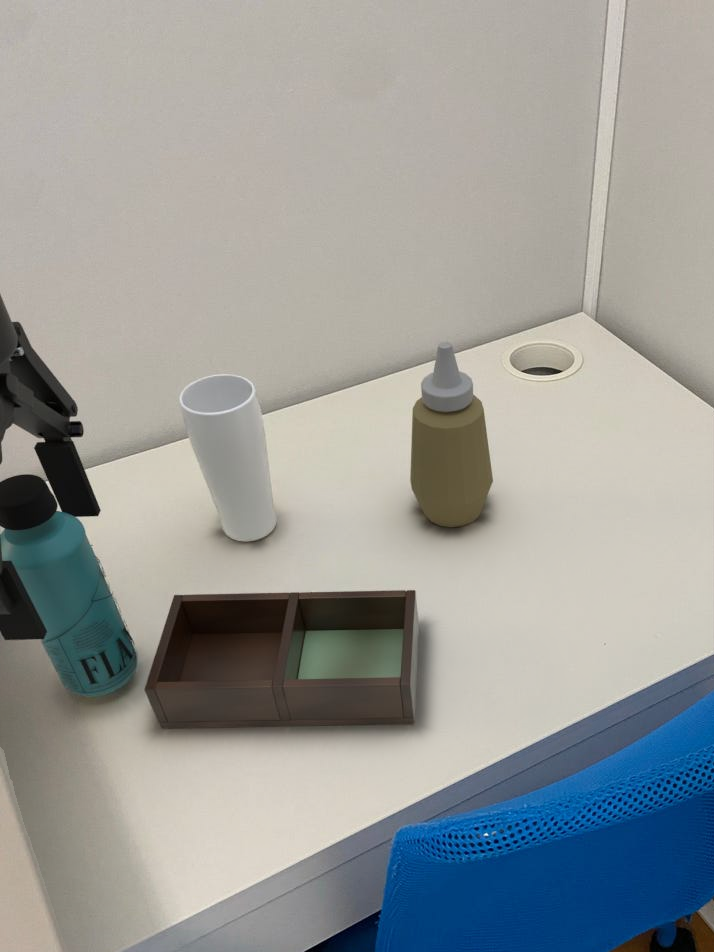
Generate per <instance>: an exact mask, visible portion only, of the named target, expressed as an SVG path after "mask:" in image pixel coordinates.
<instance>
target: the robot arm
mask: <svg viewBox="0 0 714 952" xmlns="http://www.w3.org/2000/svg"><path fill="white" fill-rule="evenodd" d="M78 411H79V408H78V405H77V402H76V400H75V399H74V398H73V397H72V396H71V394H70V393H69V392H68V391H67V389H66V388H65V387H64V386H63V385H62V384H61V382H60V380H59V379H58V378H57V377H56V375H54V373H53V372H52V371H51V369H50V368H49V367H48V365H47V364H46V362H45V361H44V360H43V359H42V358H41V356H39V355H38V353H37V352H36V350H35V349H34V348H33V346H32V344H31V343H30V340H29V338H28V335H27V334H26V331H25V329H24V327H23V325H22V323H21V322H20V321H12V318H11V316H10V314H9V312H8V308H7V307H6V304H5V302H4V299H3V296H2V294H1V293H0V465H2V463H3V448H2V442H3V440H4V437H5V434H6V431H7V430H8V429H9V428H10V427H12V426H13V424H14V425H15V426H17V427H18V428H20V429H21V430H24V431H25V432H27V433H29V434H30V435H32V436H33V437H35V438H37V439H43V440H44V441H37V442H36V444H35V445H34V447H33V449H34V451H35V453H36V456H37V458H38V460H39V463H40V465H41V467H42V469H43V472H44V475H45V477H46V478H47V481H48V484H49V485H50V488H51V490H52V494H53V495H54V497H55V499H56V501H57V505H58V507H59V508H60V512H64V513H68V514H70V515H73V516H74V517H76V518H83V517H84V518H85V517H87V518H89V517H99V515H100V514H101V512H102V511H101V507H100V505H99V502H98V499H97V497H96V495H95V492H94V490H93V487H92V484H91V482H90V480H89V476H88V475H87V473H86V470H85V467H84V465H83V462H82V461H81V457H80V455H79V452H78V449H77V447H76V445H75V442H74V440H73V439H72V438H83V436H84V432H85V430H84V425H83V423H82V422H81V420H74V421H73V420H72V421H71V420H70V419H71V418H75V417H77V416H78ZM46 633H47V630H46V628H45V626H44V624H43V622H42V620H41V618H40V616H39V614H38V612H37V610H36V608H35V606H34V604H33V602H32V600H31V598H30V597H29V595H28V593H27V591H26V589H25V587H24V585H23V583H22V581H21V579H20V577H19V575H18V573H17V571H16V569H15V567H14V565H13V563H12V561H2V551H1V537H0V634H1V636H2V638H3V639H4V641H26V640H28V641H29V640H41V639H44V638H45V636H46Z"/></svg>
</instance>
